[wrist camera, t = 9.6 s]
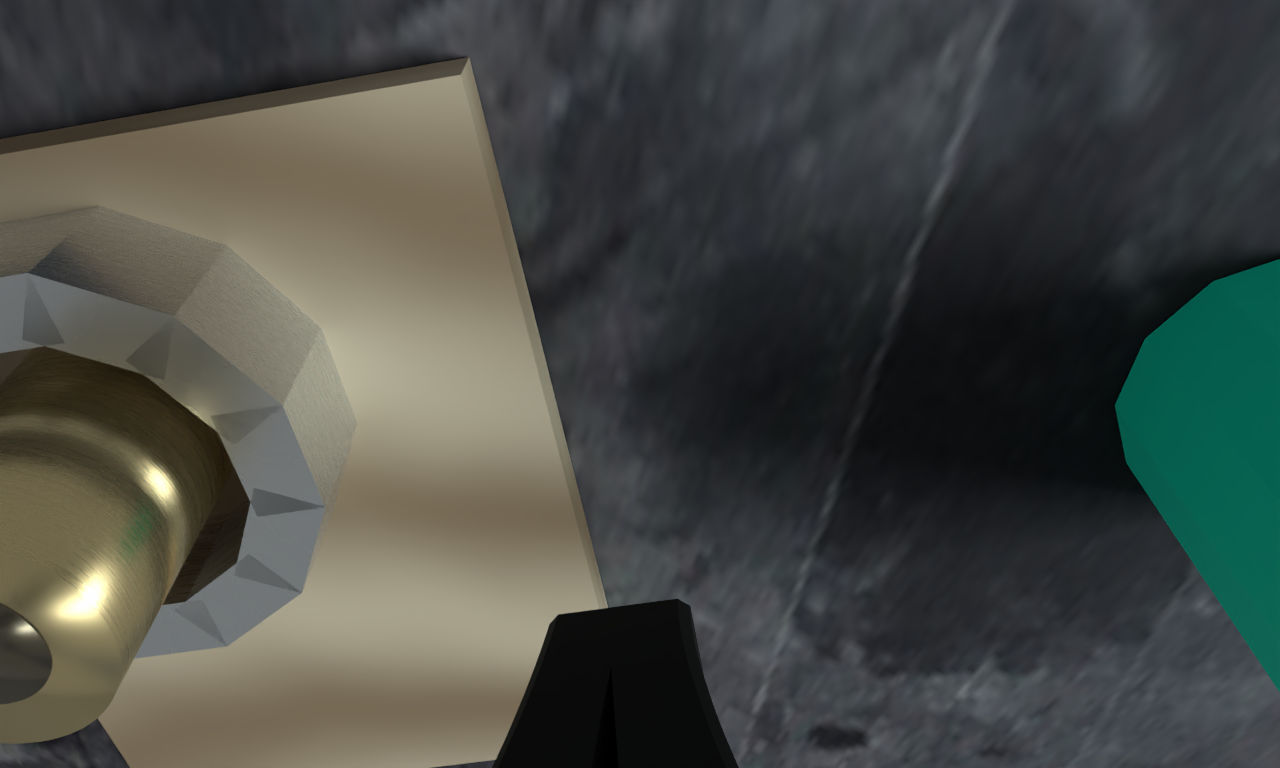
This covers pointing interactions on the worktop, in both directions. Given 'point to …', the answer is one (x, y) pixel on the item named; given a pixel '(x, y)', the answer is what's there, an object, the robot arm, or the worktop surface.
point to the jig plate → (361, 419)
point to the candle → (1217, 443)
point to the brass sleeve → (89, 530)
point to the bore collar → (197, 393)
